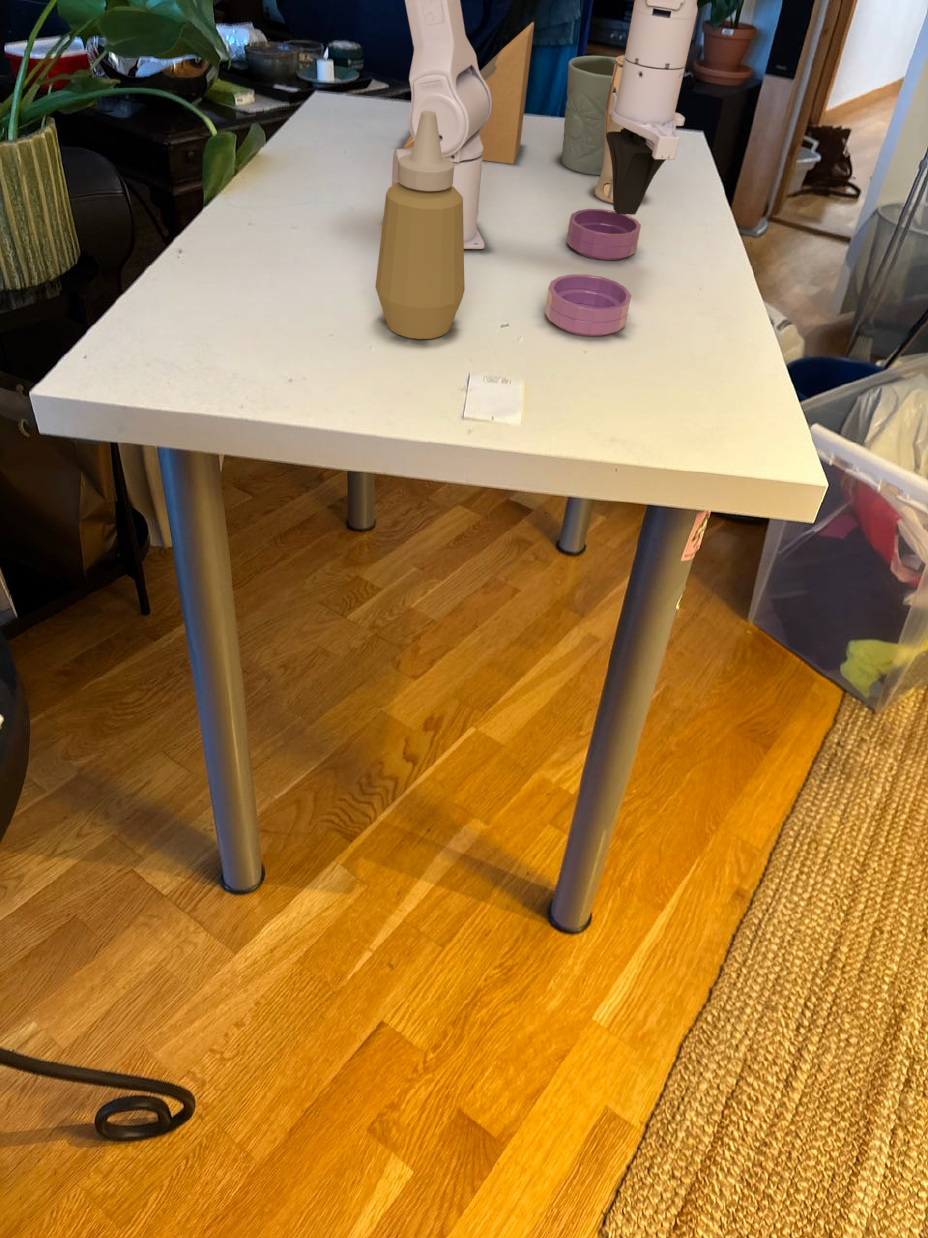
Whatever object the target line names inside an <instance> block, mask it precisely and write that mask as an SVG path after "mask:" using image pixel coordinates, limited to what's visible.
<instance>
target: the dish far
mask: <svg viewBox="0 0 928 1238" xmlns="http://www.w3.org/2000/svg"><path fill="white" fill-rule="evenodd" d="M568 223H569V224H568V227H567V228H568V231H567V235H566V243H567V245H568V246H569V247H570V248H571V249H573V250H574V251H575V252H576V253H578V254H579V255H582V256H584V257H587V258H590V259H594V260H599V261H618V260H622V259H625V258H627V257H630V256H632V255H633V254H636V251H637V247H638V242H639V239H640V233H641V227H642V224H641V223H640V222H639V221H638V220H637V219H636V218H634V217H632V216H631V215H629V214H617V213H616V212H615V211H614V210H610V209H605V208H603V209H602V208H587V209H581V210H577V211H575V212H573V213H571V215H570V217H569V222H568Z"/></svg>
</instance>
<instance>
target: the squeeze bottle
mask: <svg viewBox="0 0 928 1238" xmlns="http://www.w3.org/2000/svg"><path fill="white" fill-rule="evenodd" d="M453 176H454V164H453V162H452V161H451V160H449V159H447V158H445V157H442V154H441V147H440V139H439V132H438V125H437V117H436V113H435V112H433V111H422V112H421V116H420V120H419V124H418V128H417V133H416V137H415V141H414V145H413V150H412V154H408V155H404V156H402V157H400V159H399V161H398V181H399V182H397V183H395V184H394V185H392V184H391V185H390V187H388V189H387V190H386V193H385V198H384V199H385V200H384V209H383V216H382V217H383V218H382V227H381V233H380V234H381V235H380V243H379V252H378V260H377V262H378V263H377V269H376V276H375V277H376V278H375V286H374V287H375V291H376V293H377V297H378V300H379V303H380V306H381V309H382V310H381V311H382V313H383V317H384V318H385V323H386V325H387V328H389V330H390V331H392V332H393V333H395V334H396V335H399V336H402V337H405V338H408V339H417V340H427V339H428V340H429V339H436V338H439V337H442V336H444V335H445V334H447V333H448V332H449V331H450V329H451V326H452V324H453V322H454V319H455V317H456V314H457V312H458V310H459V307H460V305H461V303H462V301H463V298H464V295H465V290H466V289H465V288H466V287H465V249H464V234H463V197H462V196H461V195H460V193H459V192H458V191H457V190H456V189H455V188H454V187H453V186H452V184H453Z"/></svg>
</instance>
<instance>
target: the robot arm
mask: <svg viewBox="0 0 928 1238" xmlns="http://www.w3.org/2000/svg"><path fill="white" fill-rule="evenodd" d="M404 3H405V4H404V5H405V8H406V14H407V20H408V25H409V30H410V36H411V40H412V46H413V55H412V60H411V65H410V70H409V75H408V82H409V87H410V93H411V94H410V95H411V100H410V106H409V111H408V116H407V119H408V127H409V128H408V129H409V132H410V136H411V135H412V137H413V139H414V141H415V137H416V133H417V128H418V124H419V120H420V116H421V112H422V111H433V112H435V113H436V117H437V125H438V132H439V139H440V147H441V154H442V157H445V158H447V159H449V160H451V161H452V162H453V164H454V176H453V184H452V186H453V187H454V188H455V189H456V190H457V191H458V192H459V193H460V195H461V196H462V197H463V234H464V250H484V249H485V248H486V243H485V241H484V239H483V237H482V236H481V234H480V232H479V230H478V228H477V226H478V225H477V224H478V214H479V203H480V190H481V181H482V180H481V179H482V170H483V169H482V168H483V160H482V158H483V145H482V143H481V140H480V135H479V131H480V130H481V129H482V128H483V127H484V126H485V125H486V123H487V122H488V120H489V118H490V115H491V110H492V98H491V93H490V90H489V88H488V85H487V84H486V82H485V81H484V79H483V78H482V76H481V74H480V69H479V65H478V58H477V54H476V52H475V50H474V48H473V46H472V45H471V43H470V41H469V39H468V37H467V35H466V30H465V23H464V16H463V11H462V3H461V0H404ZM697 3H698V0H634V1H633V9H632V13H631V14H632V15H631V20H630V26H629V30H628V36H627V42H626V46H625V54H624V55H625V58H624V63H623V68H622V74H621V79H620V85H619V91H618V93H612V98H611V103H610V109H609V114H610V115H611V116H612V120H613V122H615V123H616V124H618V125H620V126H622V127H623V129H621V132H618V131H610V132H607V134H606V139H607V143H608V146H609V150H610V155H611V162H612V173H613V203H612V206H613V207H612V208H613V211H615V212H616V213H617V214H626V215H630V216H631V215H633V216H635V215H636V214H637V212H638V211H639V208H640V206H641V205H642V202H643V200H644V197H645V195H646V193H647V191H648V188H649V187H650V185H651V183H652V180H653V179H654V177H655V175H656V173H657V172H658V171H659V169H660V168H661V166H663V165H664V162H666V161H668V160H669V161H674V160H676V155H677V152H678V148H679V143H680V138H681V137H680V136H679V135H678V134H677V127H683V126H684V124H685V121H686V118H685V116H684V115H682V114H681V113H679V112H676V109H677V105H678V100H679V95H680V92H681V87H682V82H683V78H684V74H685V69H686V65H687V60H688V56H689V51H690V46H691V41H692V37H693V33H694V30H695V29H694V28H695V24H696V20H697V15H698V5H697ZM412 150H413V147H410V148H405V149H403V148H396V149H394V151H393V156H392V166H391V167H392V168H391V169H392V172H391V186H392V185H394V184H395V183H397V182H399V181H398V161H399V159H400V157H402V156H404V155H408V154H412Z"/></svg>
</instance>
